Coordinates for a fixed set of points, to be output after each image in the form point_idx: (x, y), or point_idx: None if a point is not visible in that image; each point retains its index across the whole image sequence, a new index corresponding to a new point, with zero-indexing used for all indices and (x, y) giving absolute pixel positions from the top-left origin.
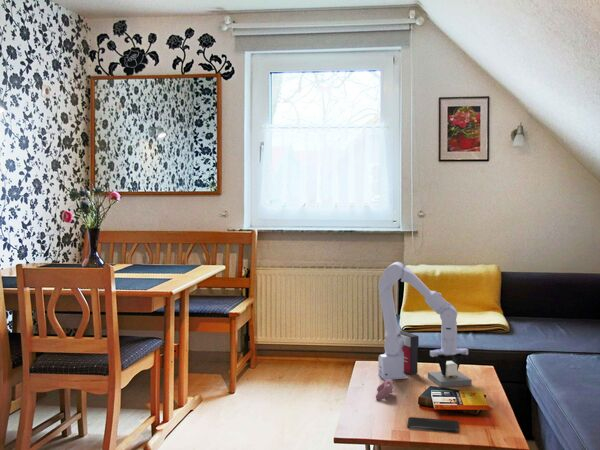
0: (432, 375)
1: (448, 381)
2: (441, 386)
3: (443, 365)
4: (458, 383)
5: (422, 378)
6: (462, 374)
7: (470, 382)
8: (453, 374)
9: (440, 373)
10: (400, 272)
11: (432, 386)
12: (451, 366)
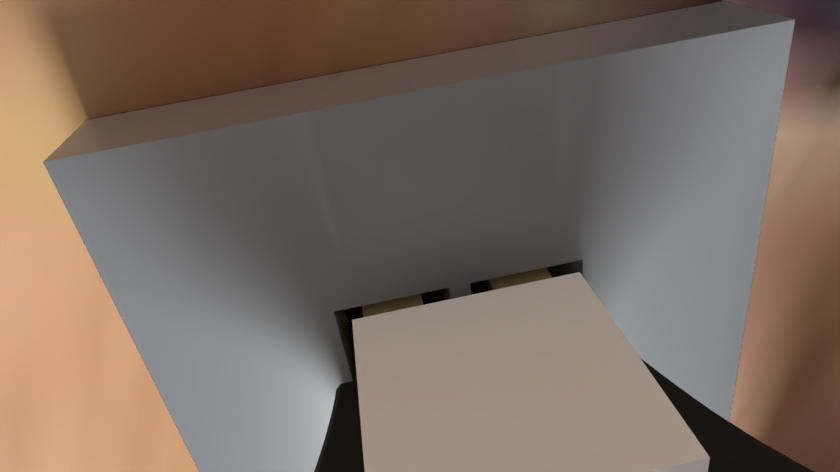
0: (730, 377)
1: (614, 54)
2: (716, 8)
3: (770, 465)
4: (372, 81)
5: (759, 399)
6: (210, 446)
7: (94, 134)
8: (444, 312)
9: None
10: None
11: (827, 63)
12: (548, 449)
